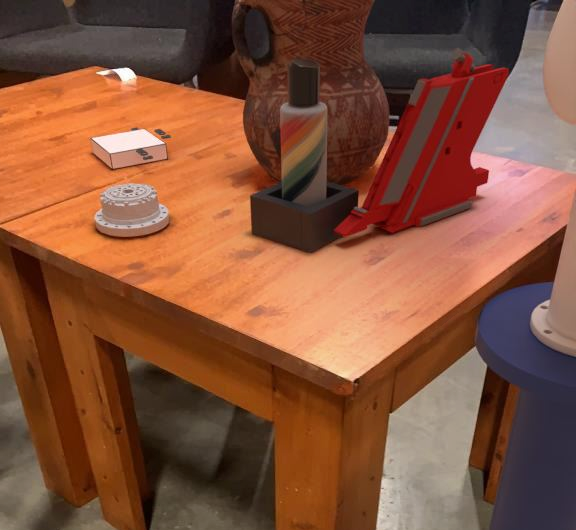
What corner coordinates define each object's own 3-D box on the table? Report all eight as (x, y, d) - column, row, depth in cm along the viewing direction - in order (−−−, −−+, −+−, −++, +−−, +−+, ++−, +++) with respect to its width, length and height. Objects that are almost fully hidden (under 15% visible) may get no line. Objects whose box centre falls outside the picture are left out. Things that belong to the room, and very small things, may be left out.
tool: (358, 244, 95) (444, 19, 84) (328, 229, 97) (408, 10, 87) (458, 269, 112) (540, 87, 102) (430, 256, 115) (507, 77, 105)
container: (82, 144, 131) (79, 127, 129) (145, 133, 135) (143, 117, 133) (123, 180, 118) (121, 161, 116) (192, 166, 122) (190, 148, 120)
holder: (357, 228, 102) (359, 189, 99) (310, 253, 96) (310, 213, 93) (299, 210, 107) (299, 173, 103) (251, 233, 101) (249, 195, 98)
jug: (330, 144, 128) (333, -38, 112) (416, 178, 116) (434, -22, 99) (218, 173, 119) (202, -21, 102) (298, 213, 106) (295, -1, 89)
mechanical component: (81, 226, 104) (129, 245, 99) (74, 193, 101) (123, 211, 96) (136, 205, 110) (185, 221, 105) (132, 173, 107) (181, 188, 102)
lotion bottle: (291, 220, 104) (288, 52, 91) (331, 225, 103) (334, 55, 89) (276, 236, 100) (271, 63, 87) (318, 241, 99) (319, 66, 85)
